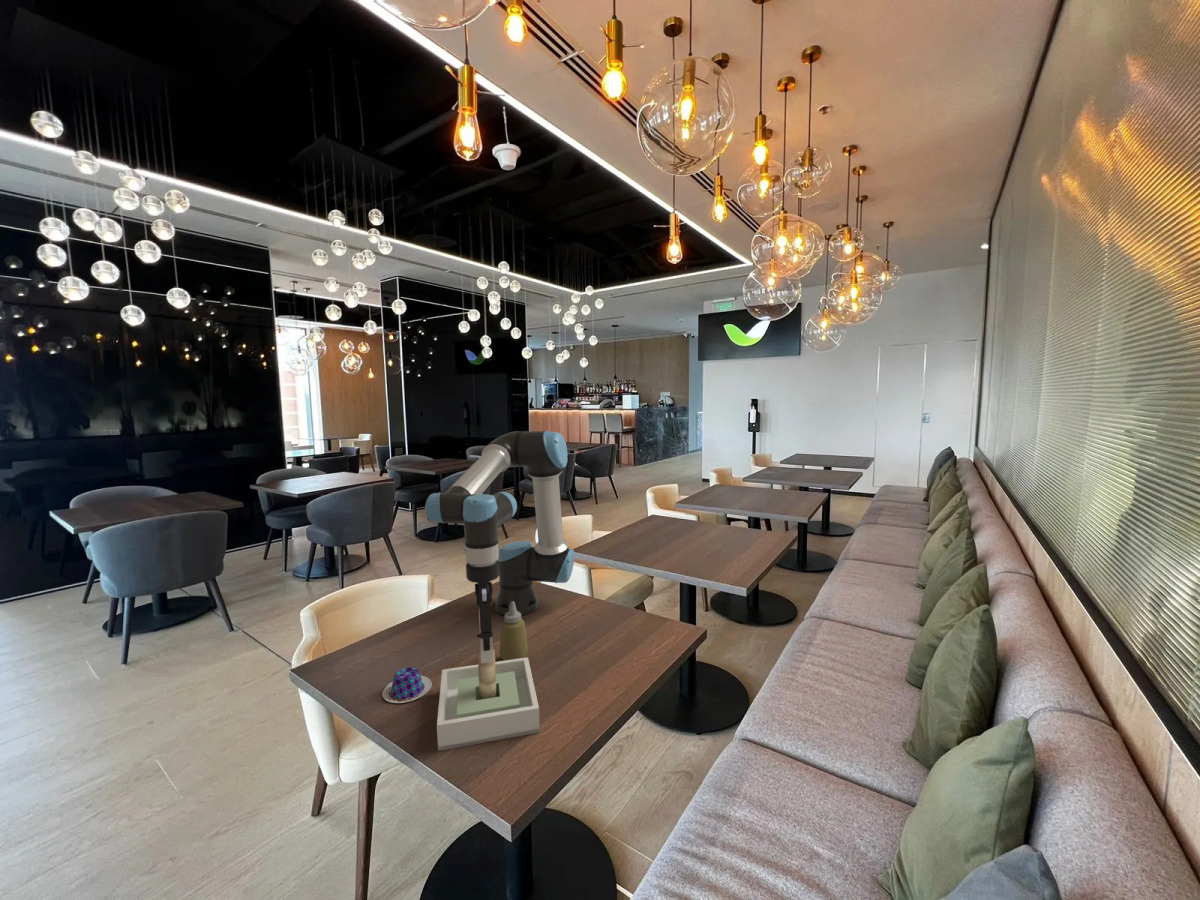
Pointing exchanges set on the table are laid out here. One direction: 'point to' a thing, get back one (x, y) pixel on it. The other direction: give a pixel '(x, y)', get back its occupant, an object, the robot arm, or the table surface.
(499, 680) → the bore plate
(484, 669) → the peg
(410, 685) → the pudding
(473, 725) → the open box
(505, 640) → the squeeze bottle
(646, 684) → the table surface
